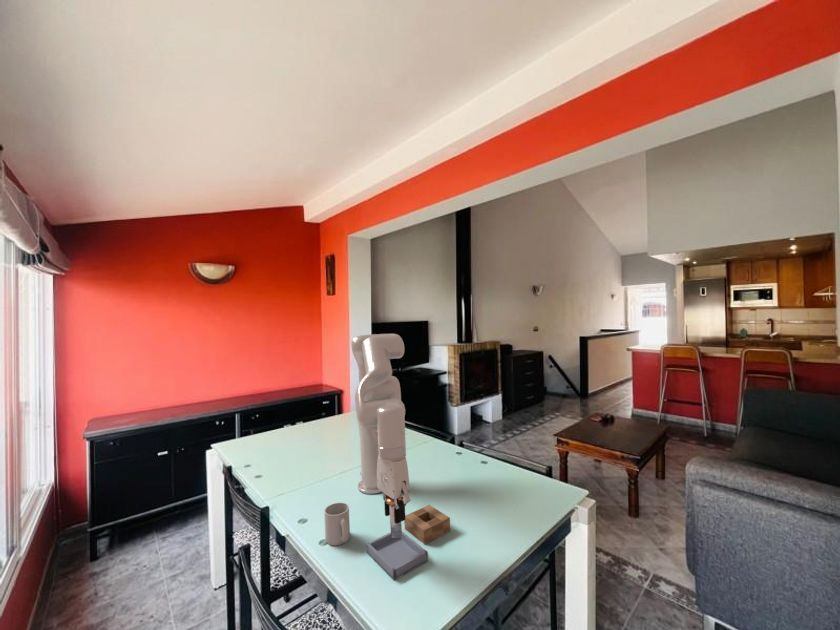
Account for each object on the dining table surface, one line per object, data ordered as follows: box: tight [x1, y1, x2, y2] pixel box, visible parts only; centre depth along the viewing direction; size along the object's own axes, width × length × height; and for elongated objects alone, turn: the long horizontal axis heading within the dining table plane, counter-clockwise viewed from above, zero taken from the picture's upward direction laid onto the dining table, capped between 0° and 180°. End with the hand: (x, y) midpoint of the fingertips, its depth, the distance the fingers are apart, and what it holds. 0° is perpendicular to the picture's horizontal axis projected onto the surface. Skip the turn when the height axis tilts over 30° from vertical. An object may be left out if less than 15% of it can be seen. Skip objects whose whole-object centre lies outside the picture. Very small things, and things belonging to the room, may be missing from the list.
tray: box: [365, 531, 429, 581], centre depth 98 cm, size 14×11×2 cm
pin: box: [386, 496, 403, 538], centre depth 98 cm, size 4×4×10 cm
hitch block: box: [403, 504, 451, 545], centre depth 110 cm, size 10×10×4 cm
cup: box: [323, 502, 351, 547], centre depth 106 cm, size 7×10×9 cm
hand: (395, 517), depth 98 cm, fingers closed on pin, 4 cm apart
